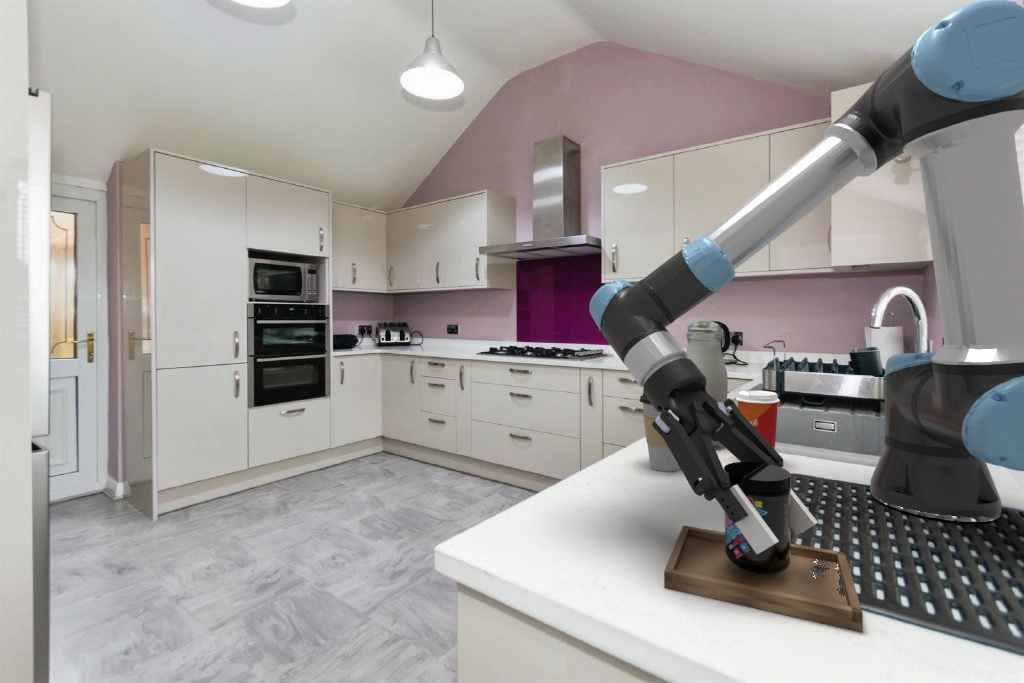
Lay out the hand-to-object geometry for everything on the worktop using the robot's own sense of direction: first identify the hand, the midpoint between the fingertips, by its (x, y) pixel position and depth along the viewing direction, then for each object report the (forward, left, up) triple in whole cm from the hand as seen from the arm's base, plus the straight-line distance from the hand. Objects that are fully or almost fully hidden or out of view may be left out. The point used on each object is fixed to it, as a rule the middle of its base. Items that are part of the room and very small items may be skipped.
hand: (788, 537), depth 53 cm
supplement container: (+3, -2, -4) cm, 6 cm away
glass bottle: (+15, -58, -6) cm, 60 cm away
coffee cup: (+20, -39, -6) cm, 44 cm away
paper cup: (+4, -48, -6) cm, 48 cm away
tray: (+3, -2, -6) cm, 7 cm away
